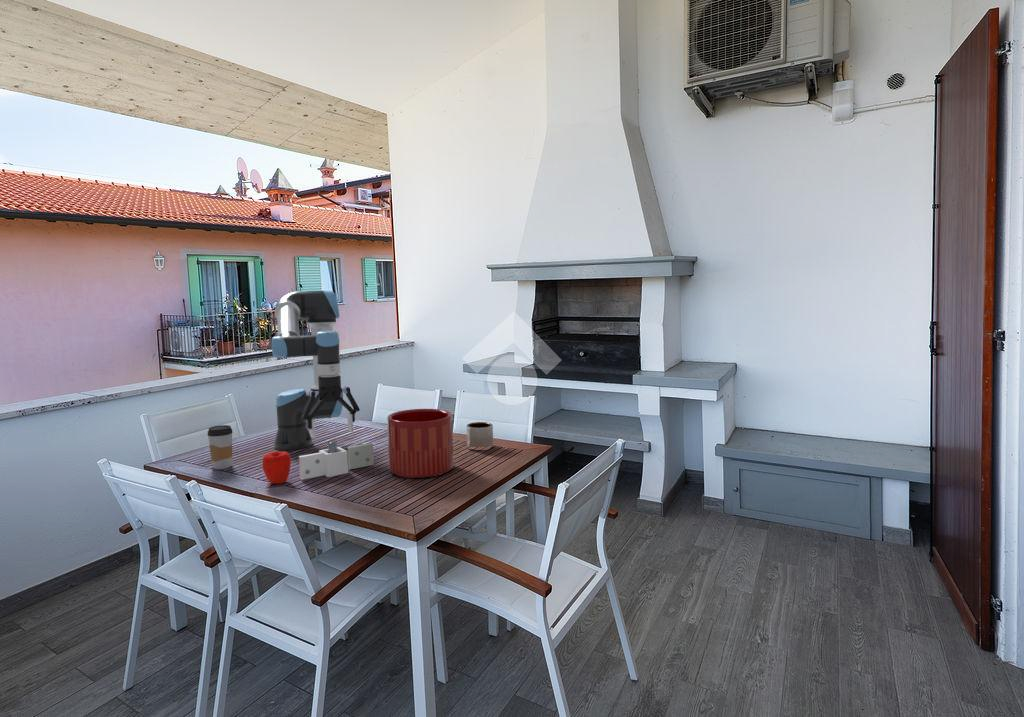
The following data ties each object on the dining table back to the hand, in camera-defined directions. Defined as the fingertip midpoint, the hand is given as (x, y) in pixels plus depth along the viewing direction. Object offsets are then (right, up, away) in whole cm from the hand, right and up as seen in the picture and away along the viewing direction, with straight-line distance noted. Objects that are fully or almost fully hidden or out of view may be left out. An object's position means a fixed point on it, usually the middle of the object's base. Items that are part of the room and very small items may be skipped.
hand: (332, 434), depth 204 cm
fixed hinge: (-3, -14, -1) cm, 14 cm away
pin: (0, -14, +1) cm, 14 cm away
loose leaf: (+9, -13, +7) cm, 17 cm away
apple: (-15, -15, -9) cm, 24 cm away
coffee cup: (-44, -14, +9) cm, 47 cm away
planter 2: (+51, -10, +32) cm, 61 cm away
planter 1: (+31, -13, +4) cm, 34 cm away
